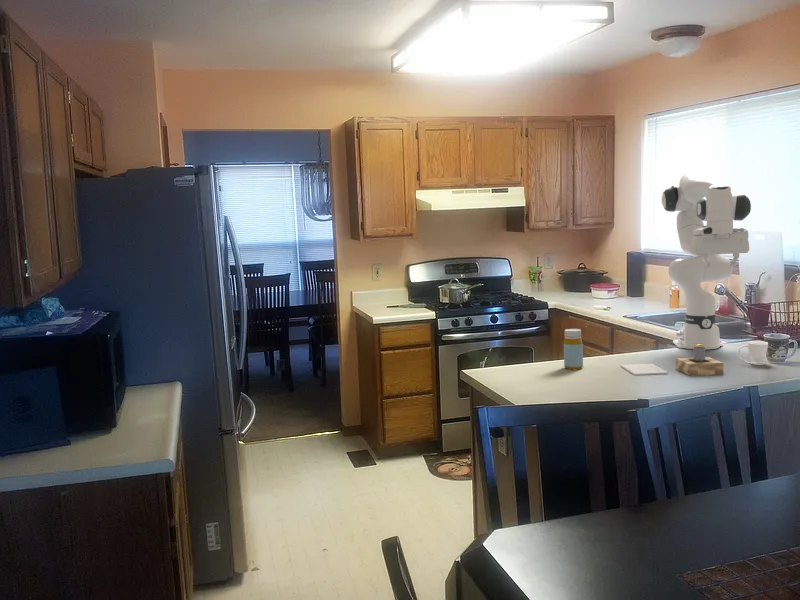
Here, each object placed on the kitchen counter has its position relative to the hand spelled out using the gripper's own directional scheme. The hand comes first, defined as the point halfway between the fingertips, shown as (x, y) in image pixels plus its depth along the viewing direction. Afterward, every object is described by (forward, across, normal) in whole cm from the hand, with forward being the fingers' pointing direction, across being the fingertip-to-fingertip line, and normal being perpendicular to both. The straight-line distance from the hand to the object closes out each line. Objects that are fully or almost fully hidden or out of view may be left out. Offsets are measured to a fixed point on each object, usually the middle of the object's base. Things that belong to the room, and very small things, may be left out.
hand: (720, 266), depth 249 cm
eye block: (+37, +12, +7) cm, 40 cm away
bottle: (+37, +53, -8) cm, 66 cm away
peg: (+38, +12, +7) cm, 40 cm away
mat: (+37, +29, +1) cm, 48 cm away
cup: (+37, -13, -1) cm, 39 cm away
